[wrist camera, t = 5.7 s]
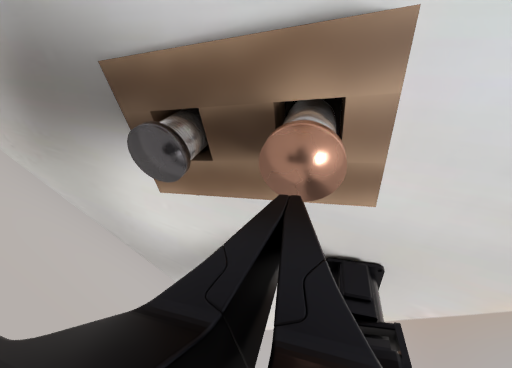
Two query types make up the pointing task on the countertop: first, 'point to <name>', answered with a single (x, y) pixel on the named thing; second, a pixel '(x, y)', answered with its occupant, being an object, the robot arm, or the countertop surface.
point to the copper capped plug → (305, 153)
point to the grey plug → (168, 144)
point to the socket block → (275, 97)
